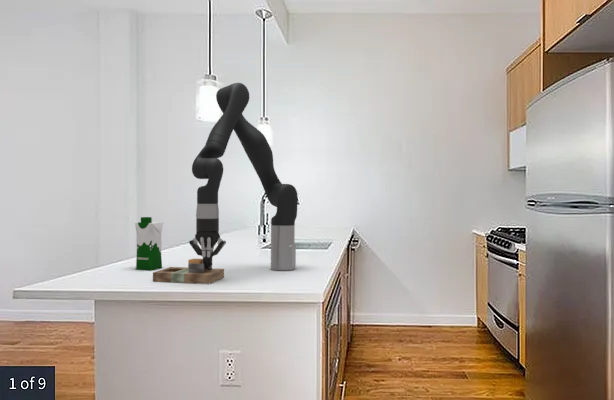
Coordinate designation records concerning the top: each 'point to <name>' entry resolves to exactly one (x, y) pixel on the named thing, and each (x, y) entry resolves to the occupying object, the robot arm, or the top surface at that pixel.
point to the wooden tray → (188, 274)
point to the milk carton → (148, 244)
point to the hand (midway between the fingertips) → (207, 268)
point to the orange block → (198, 261)
